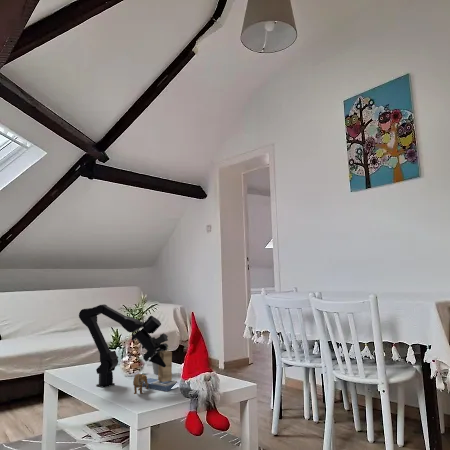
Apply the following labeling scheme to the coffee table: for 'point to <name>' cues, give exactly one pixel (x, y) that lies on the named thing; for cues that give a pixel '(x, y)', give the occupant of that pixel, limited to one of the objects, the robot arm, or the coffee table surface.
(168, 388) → the blueprint board
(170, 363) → the oak pillar
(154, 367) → the house plant
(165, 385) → the grey socket
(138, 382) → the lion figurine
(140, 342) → the robot arm
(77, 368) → the coffee table surface
